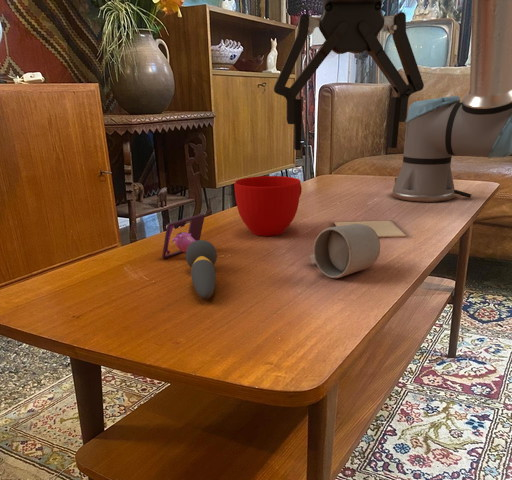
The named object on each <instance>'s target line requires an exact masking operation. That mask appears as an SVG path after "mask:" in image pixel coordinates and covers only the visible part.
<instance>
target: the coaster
mask: <svg viewBox="0 0 512 480" xmlns="http://www.w3.org/2000/svg"><path fill="white" fill-rule="evenodd" d="M333 224H334V225H335V226H334V227H337V226H345V225H351V224H363V225H367V226H369V227H371V228H372V229H373V230H374V231H375V232H376V234H377V235H378V238H406V237H407V235H406V234H405V233H404V231H402V230H401V229H400V228H399V227H398V226H396V224H395V223H393V222H392V221H391V220H367V221H362V220H361V221H360V220H359V221H334V222H333Z"/></svg>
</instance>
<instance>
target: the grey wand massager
mask: <svg viewBox="0 0 512 480" xmlns="http://www.w3.org/2000/svg"><path fill="white" fill-rule="evenodd" d="M217 253H218V252H217V250H216V247H215V246H214V244H212V242H210V241H208V240H205V239H200V240H197V241H194V242H192V243H191V244H190V245H189V246H188V248H187V250H186V253H185V261H186V263H187V265H188V266H189V267H190V274H191V275H190V276H191V282H192V285H193V288H194V290H195V292H196V294H197V295H198V296H199V298H201V299H204V300H208V299H210V298H211V297H212V296H213V295H214V293H215V289H216V285H217V284H216V283H217V274H216V268H215V264H216V262H217V259H218V254H217Z"/></svg>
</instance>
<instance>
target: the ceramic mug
mask: <svg viewBox="0 0 512 480" xmlns="http://www.w3.org/2000/svg"><path fill="white" fill-rule="evenodd" d="M380 253H381V242H380V237H378V235H377V234H376V232H375V231H374V230H373V229H372V228H371V227H369V226H367V225H363V224H351V225H345V226H337V227H336V226H329V227H326V228H324V229H322V230H321V231H320V233H319V234H318V235H317V236H316V238H315V240H314V243H313V253H311V255H310V257H309V258H310V261H311V264H312V265H316V266H317V268H318V270H319V271H320V272H321V273H322V274H323V275H324V276H326V277H328V278H331V279H339V278H343V277H345V276H346V277H347V276H348V275H351V274H354V273H357V272H361V271H364V270H366V269H368V268H370V267H372V266H373V265H374V264H375V263H376V262H377V260H378V259H379V256H380Z"/></svg>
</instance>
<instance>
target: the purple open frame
mask: <svg viewBox="0 0 512 480" xmlns="http://www.w3.org/2000/svg"><path fill="white" fill-rule="evenodd" d="M205 215H206V214H204V213H200V214H196V215H194V216H193V215H192V216H189V217H186V218H183V219H180V220H175V221H173V222H169V223H167V224H166V226H165V236H164V241H163V248H162V254H161V258H162V259H163V260H166V259H168V258H171V257H175V256H177V255H180V254H182V253H184V254H186V250H187V248H188V246H189V245H190V244H191V243H192V242H194V241H197V240H201V235H202V230H203V225H204V221H205ZM187 222H189V225H188V232H186V231H184V232H182V231H180V232H179V233H176V235H175V237H173V238H172V240H171V242H172V243H173V245H176V247H177V248H178V249H179V250H178V251H176V252H173V253H171V251H170V250H169V244H170V239H171V235H172V233H173V230H177V229H179V228H184V227H185V226H186V224H187Z"/></svg>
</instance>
